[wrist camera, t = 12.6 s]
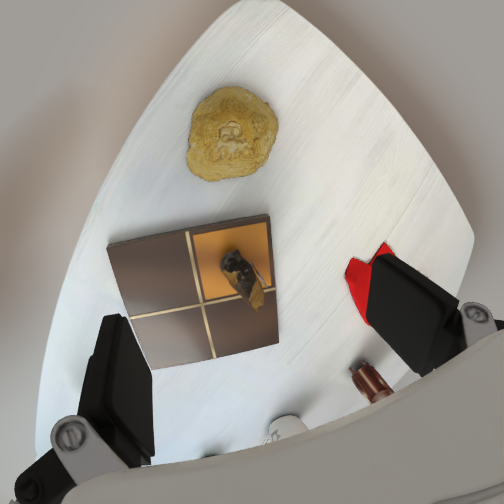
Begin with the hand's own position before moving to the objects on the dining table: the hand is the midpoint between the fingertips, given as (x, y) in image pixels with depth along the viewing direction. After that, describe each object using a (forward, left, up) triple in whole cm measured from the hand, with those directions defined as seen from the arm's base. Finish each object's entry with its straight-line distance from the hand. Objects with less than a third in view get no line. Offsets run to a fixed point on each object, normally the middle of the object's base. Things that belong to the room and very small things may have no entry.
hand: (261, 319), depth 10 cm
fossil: (-6, +4, -25) cm, 26 cm away
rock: (+8, +2, -24) cm, 25 cm away
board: (+14, -2, -25) cm, 29 cm away
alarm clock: (+40, +26, -25) cm, 54 cm away
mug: (+51, +7, -25) cm, 57 cm away
